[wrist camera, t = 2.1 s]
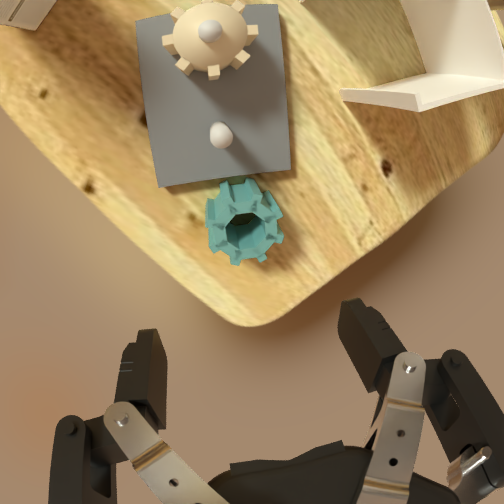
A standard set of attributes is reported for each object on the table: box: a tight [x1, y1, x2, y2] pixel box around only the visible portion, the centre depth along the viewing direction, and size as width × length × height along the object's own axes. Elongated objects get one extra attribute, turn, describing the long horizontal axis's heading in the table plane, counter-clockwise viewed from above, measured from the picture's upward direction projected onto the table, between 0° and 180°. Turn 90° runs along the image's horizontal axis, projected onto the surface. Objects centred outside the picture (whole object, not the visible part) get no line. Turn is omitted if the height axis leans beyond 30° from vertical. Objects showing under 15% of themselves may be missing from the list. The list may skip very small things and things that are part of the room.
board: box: [135, 0, 291, 188], centre depth 18 cm, size 11×14×7 cm
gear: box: [205, 177, 284, 266], centre depth 24 cm, size 6×6×4 cm
